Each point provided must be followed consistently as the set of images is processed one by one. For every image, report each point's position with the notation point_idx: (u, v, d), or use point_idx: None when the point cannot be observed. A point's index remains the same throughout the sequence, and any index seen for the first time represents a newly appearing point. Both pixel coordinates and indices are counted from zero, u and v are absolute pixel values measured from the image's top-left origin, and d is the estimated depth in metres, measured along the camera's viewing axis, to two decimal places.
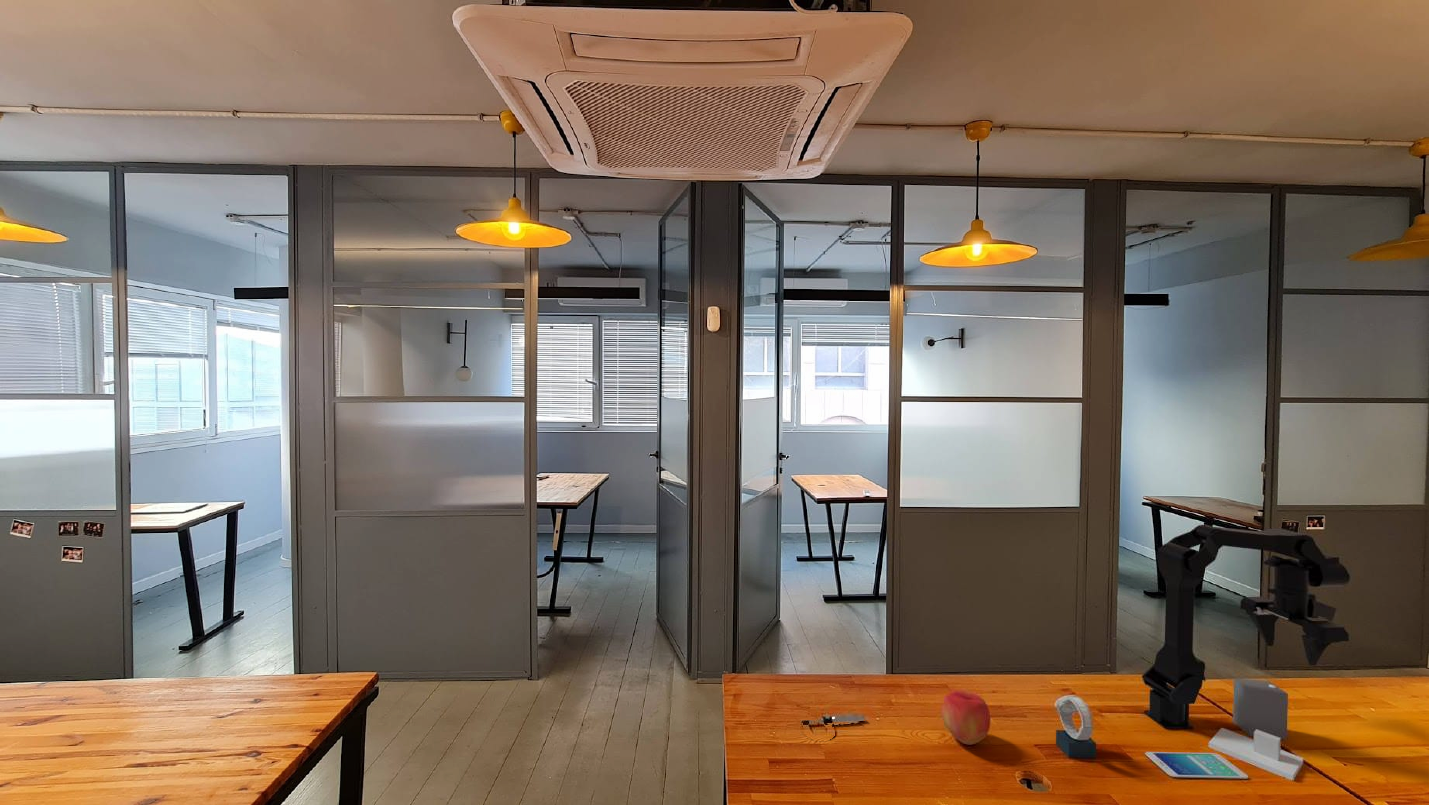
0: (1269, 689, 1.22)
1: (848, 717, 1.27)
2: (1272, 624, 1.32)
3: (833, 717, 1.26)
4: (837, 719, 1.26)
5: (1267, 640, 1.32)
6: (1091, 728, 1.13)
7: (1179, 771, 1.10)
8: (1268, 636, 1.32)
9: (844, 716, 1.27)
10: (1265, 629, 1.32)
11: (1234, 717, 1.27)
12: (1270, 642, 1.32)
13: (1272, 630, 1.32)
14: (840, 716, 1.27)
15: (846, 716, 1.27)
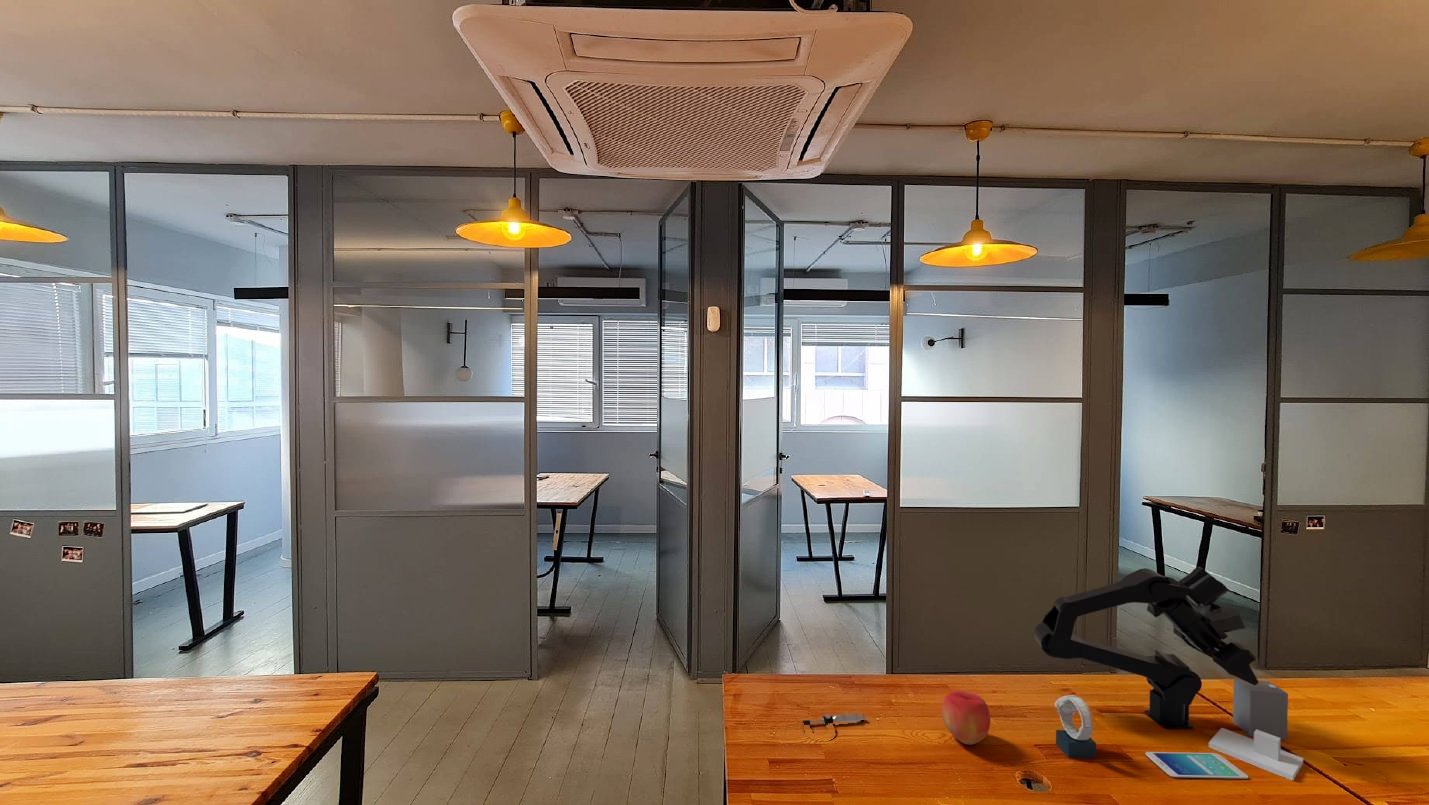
0: (1269, 689, 1.22)
1: (849, 717, 1.27)
2: None
3: (834, 717, 1.27)
4: (838, 719, 1.26)
5: None
6: (1091, 728, 1.13)
7: (1179, 771, 1.10)
8: None
9: (845, 716, 1.27)
10: (1209, 652, 1.30)
11: (1234, 717, 1.27)
12: None
13: (1216, 648, 1.29)
14: (841, 716, 1.27)
15: (847, 716, 1.27)
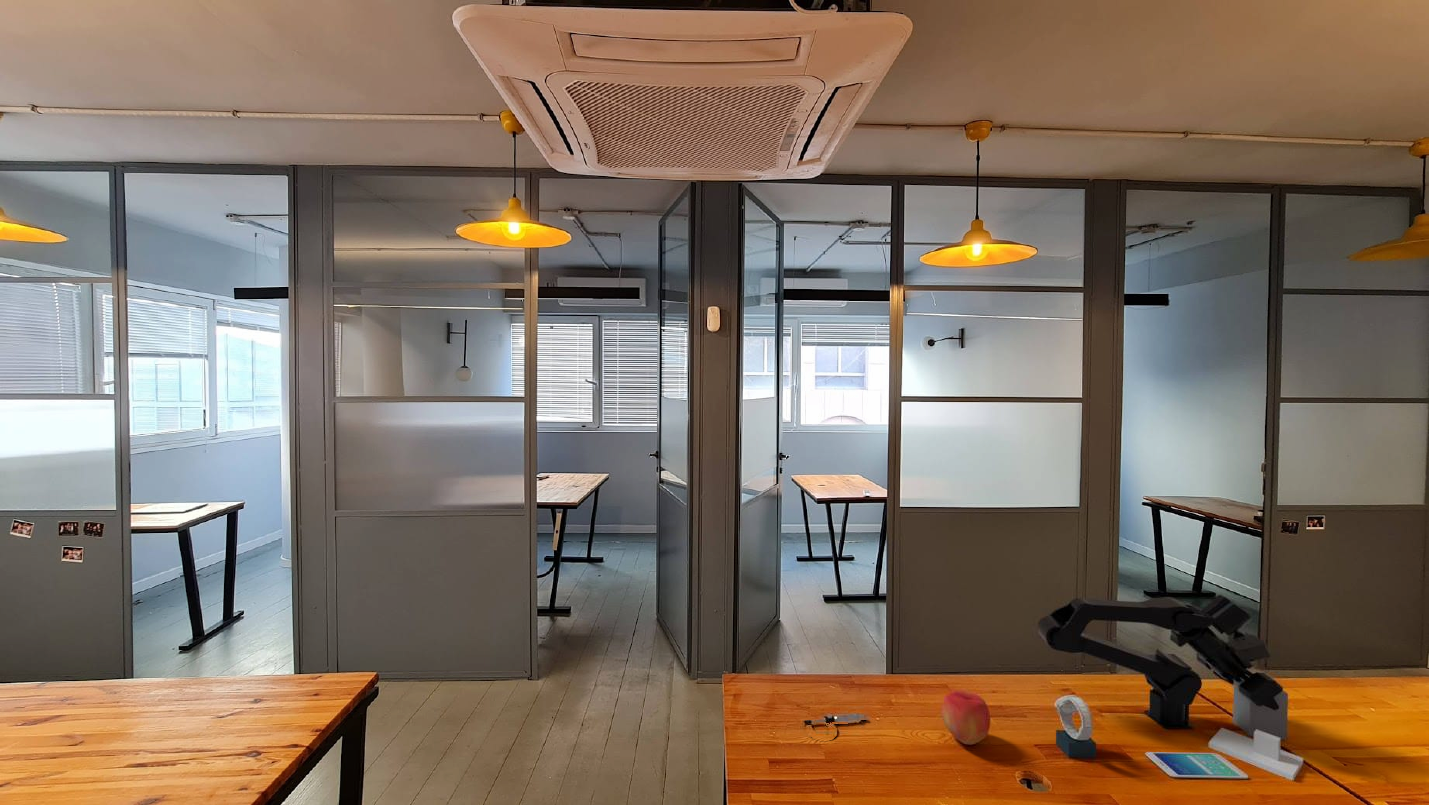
0: None
1: (850, 716, 1.27)
2: None
3: (835, 717, 1.27)
4: (839, 718, 1.26)
5: None
6: (1091, 728, 1.13)
7: (1179, 771, 1.10)
8: None
9: (846, 715, 1.27)
10: None
11: (1234, 717, 1.27)
12: None
13: None
14: (842, 715, 1.27)
15: (848, 715, 1.27)
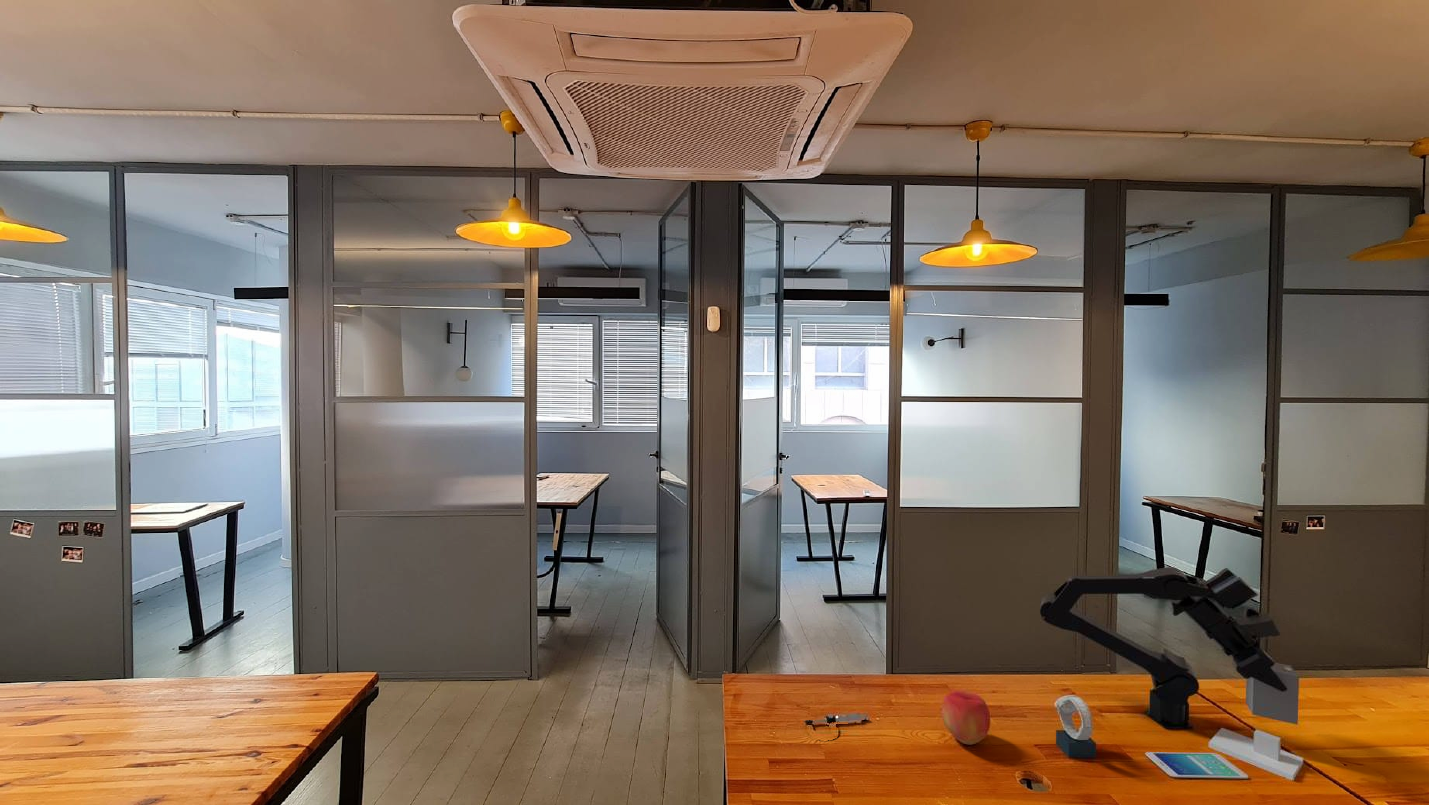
0: (1279, 670, 1.17)
1: (851, 716, 1.27)
2: None
3: (836, 716, 1.27)
4: (840, 718, 1.26)
5: None
6: (1091, 728, 1.13)
7: (1180, 771, 1.10)
8: None
9: (847, 715, 1.27)
10: None
11: (1246, 697, 1.22)
12: None
13: None
14: (843, 715, 1.27)
15: (849, 715, 1.27)
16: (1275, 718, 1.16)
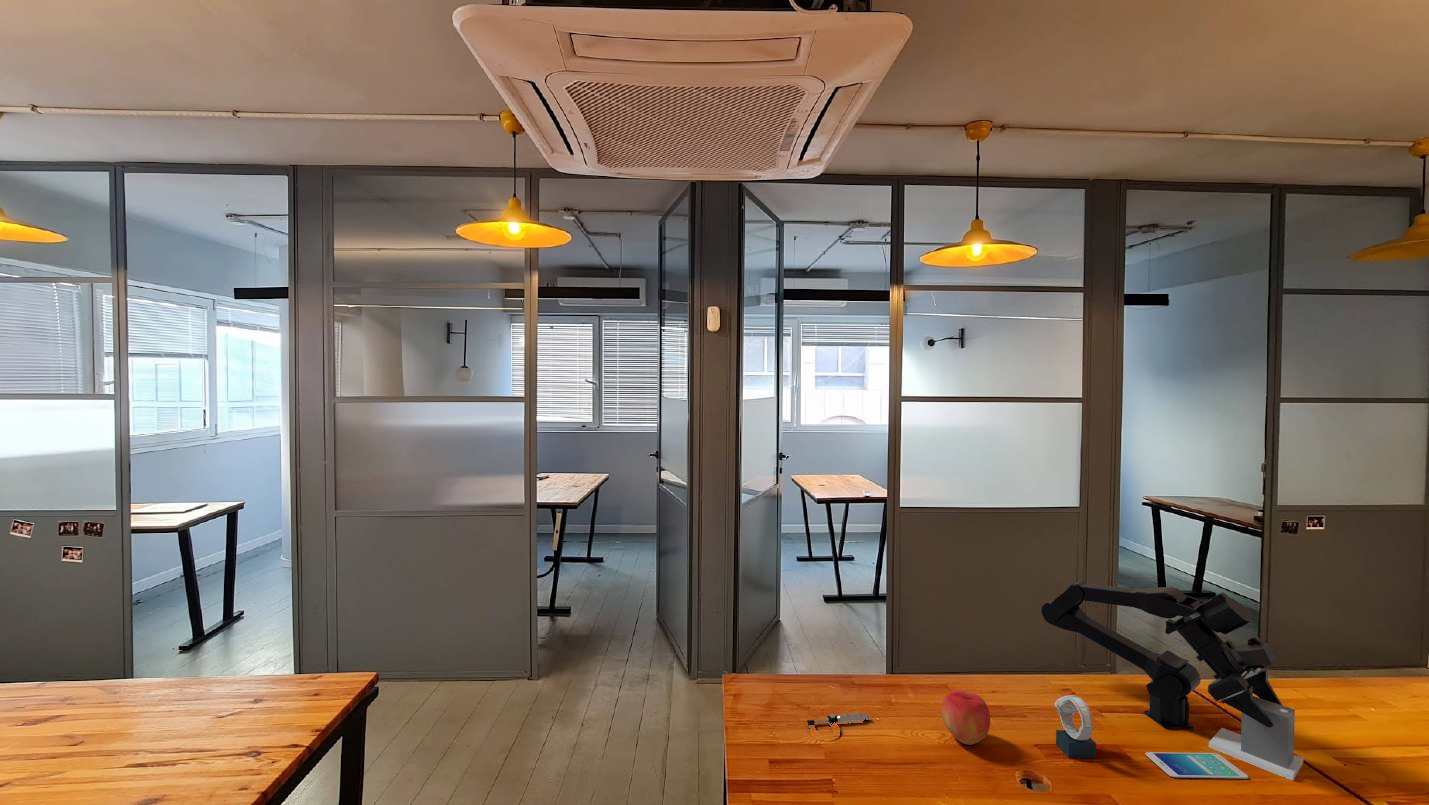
0: (1272, 710, 1.12)
1: (853, 716, 1.27)
2: (1263, 685, 1.18)
3: (838, 716, 1.27)
4: (842, 718, 1.26)
5: None
6: (1091, 728, 1.13)
7: (1180, 771, 1.10)
8: (1269, 700, 1.17)
9: (849, 715, 1.27)
10: (1260, 693, 1.18)
11: None
12: None
13: (1269, 692, 1.17)
14: (845, 715, 1.27)
15: (851, 715, 1.27)
16: (1264, 758, 1.13)
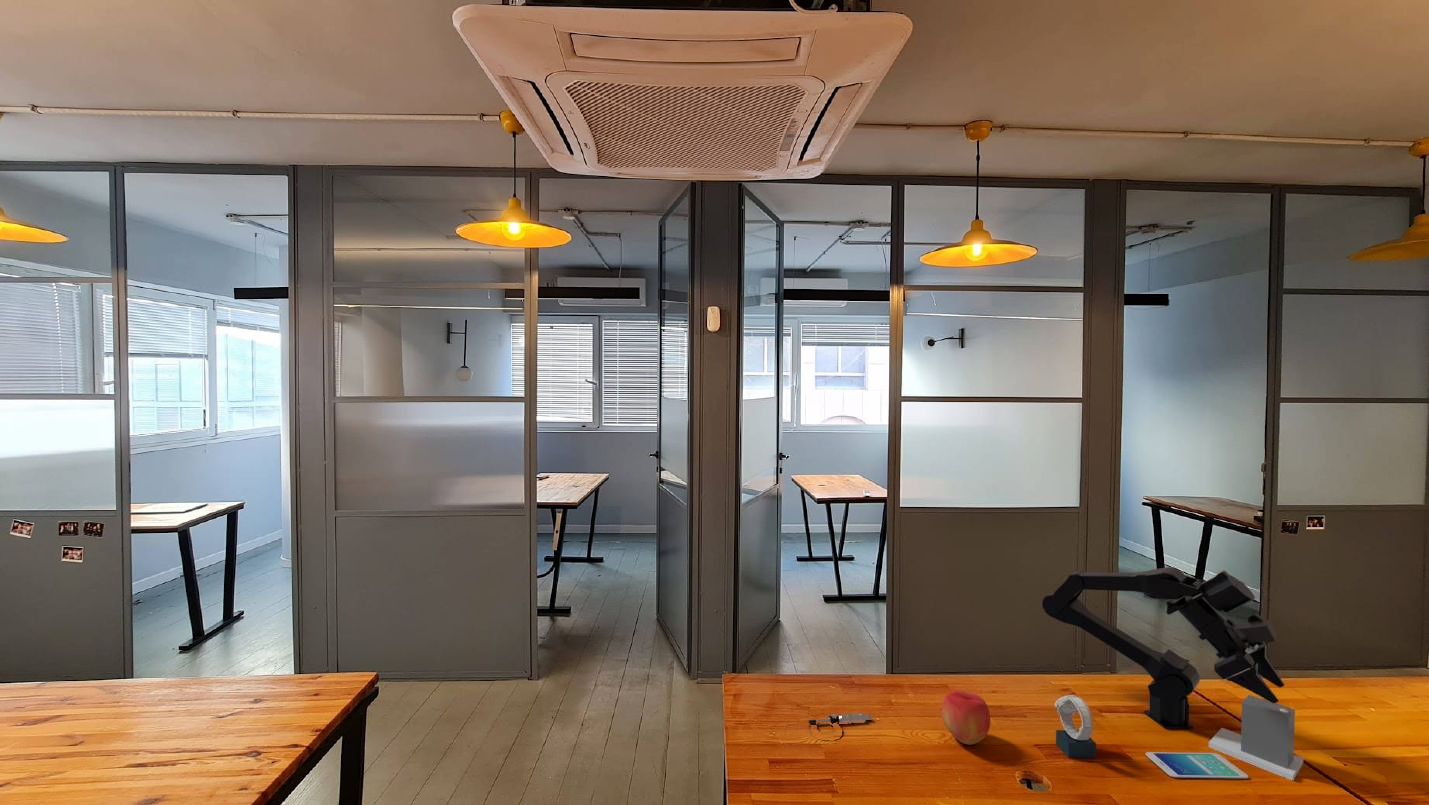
0: (1272, 710, 1.12)
1: (855, 716, 1.27)
2: (1263, 661, 1.19)
3: (840, 716, 1.27)
4: (844, 718, 1.26)
5: (1271, 681, 1.18)
6: (1091, 728, 1.13)
7: (1180, 771, 1.10)
8: (1268, 676, 1.18)
9: (851, 715, 1.27)
10: (1259, 670, 1.19)
11: None
12: (1277, 682, 1.17)
13: (1268, 668, 1.18)
14: (847, 715, 1.27)
15: (853, 715, 1.27)
16: (1264, 758, 1.13)
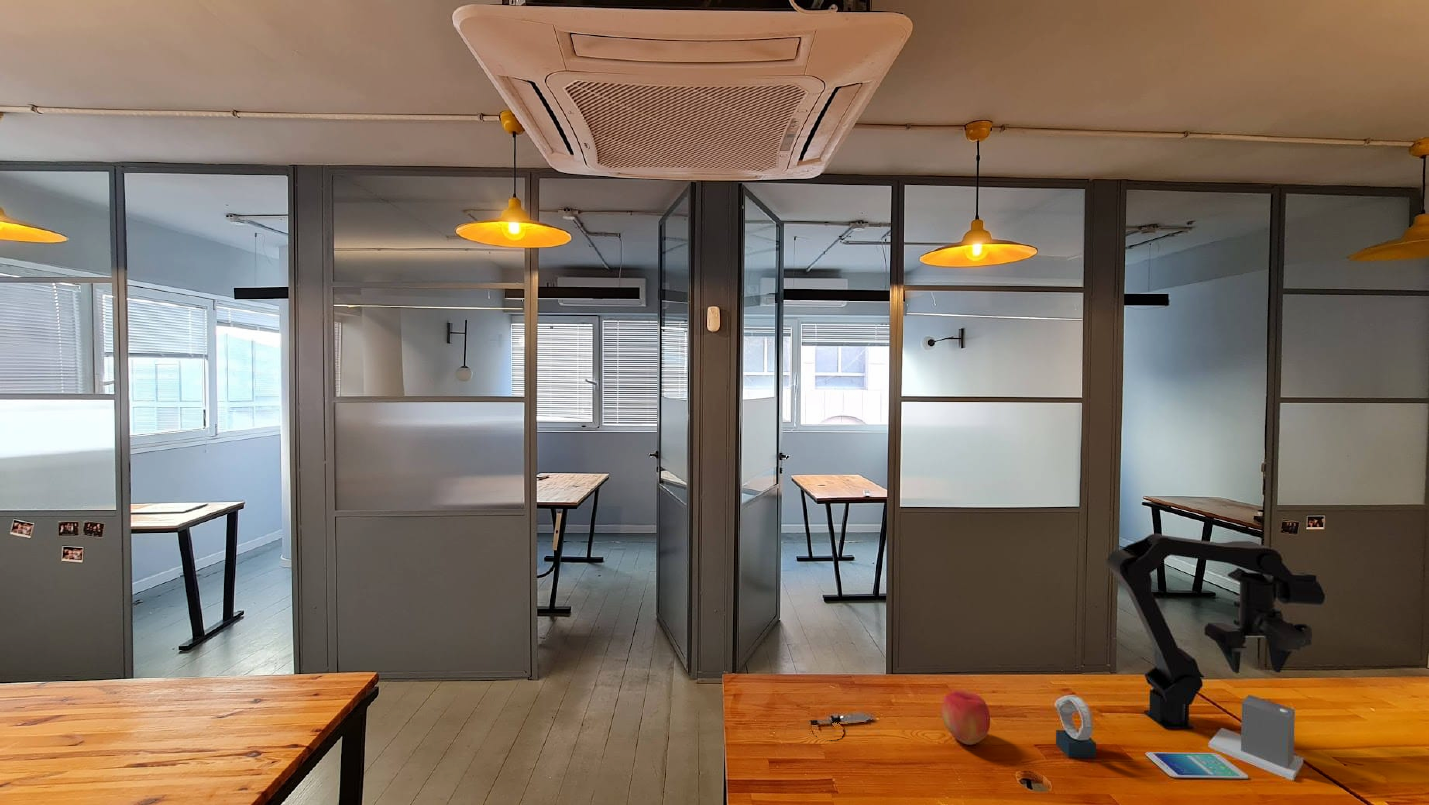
0: (1272, 710, 1.12)
1: (856, 716, 1.27)
2: (1281, 651, 1.23)
3: (841, 716, 1.27)
4: (845, 718, 1.26)
5: (1272, 663, 1.24)
6: (1091, 728, 1.13)
7: (1180, 771, 1.10)
8: (1274, 660, 1.24)
9: (852, 715, 1.27)
10: (1272, 652, 1.25)
11: None
12: (1275, 667, 1.24)
13: (1280, 656, 1.23)
14: (848, 715, 1.27)
15: (854, 715, 1.27)
16: (1264, 758, 1.13)
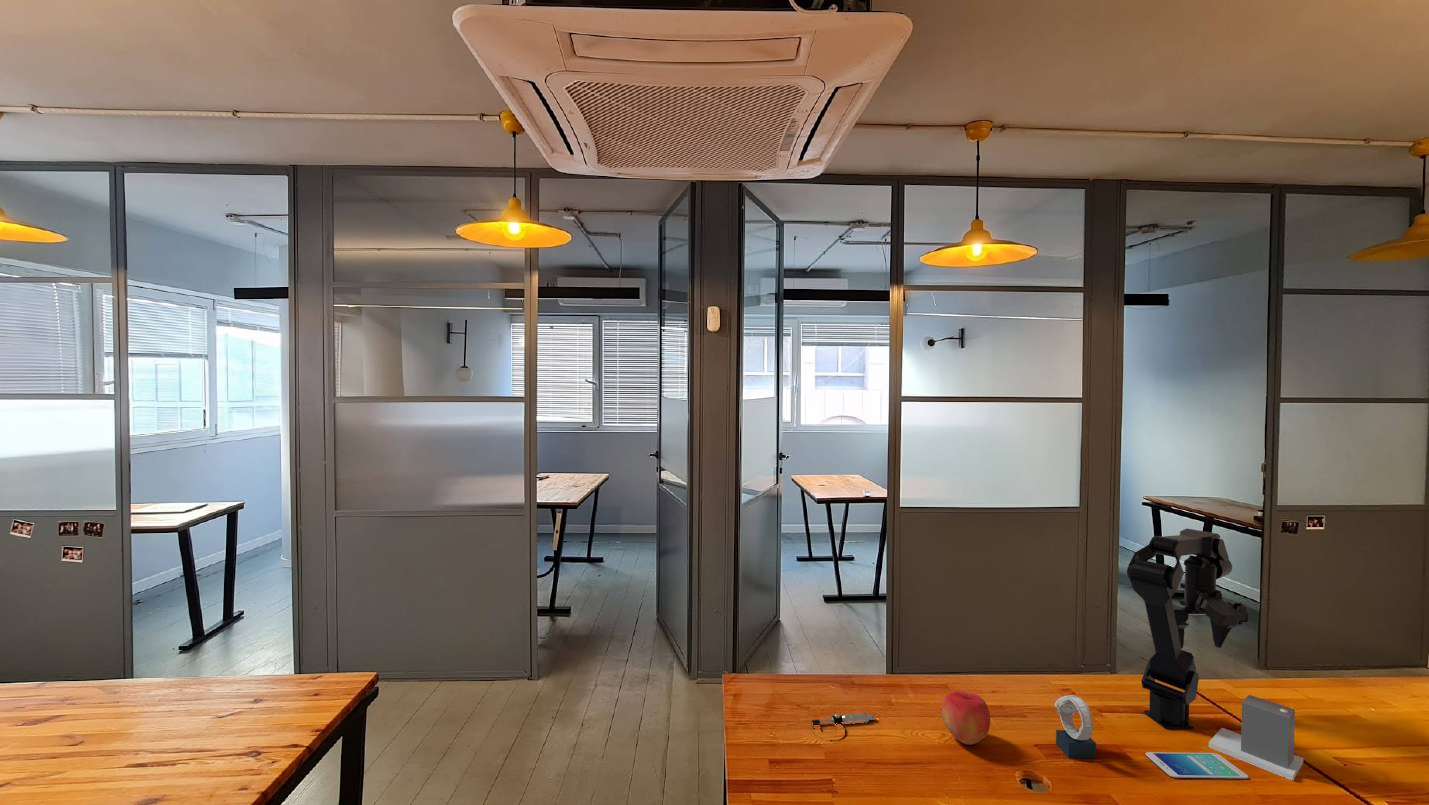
0: (1272, 710, 1.12)
1: (858, 716, 1.27)
2: (1222, 628, 1.35)
3: (843, 716, 1.27)
4: (847, 718, 1.26)
5: (1214, 640, 1.36)
6: (1091, 728, 1.13)
7: (1180, 771, 1.10)
8: (1215, 636, 1.36)
9: (854, 715, 1.27)
10: (1214, 629, 1.36)
11: None
12: (1216, 643, 1.36)
13: (1220, 633, 1.35)
14: (850, 715, 1.27)
15: (856, 715, 1.27)
16: (1264, 758, 1.13)
